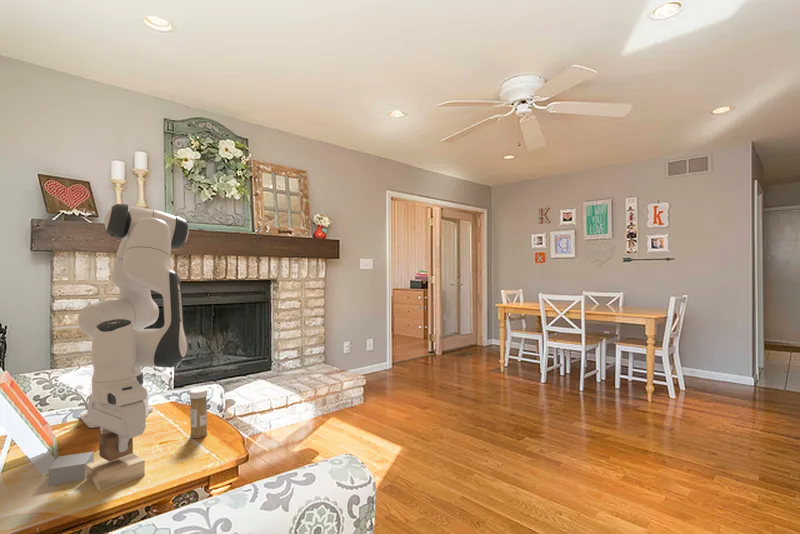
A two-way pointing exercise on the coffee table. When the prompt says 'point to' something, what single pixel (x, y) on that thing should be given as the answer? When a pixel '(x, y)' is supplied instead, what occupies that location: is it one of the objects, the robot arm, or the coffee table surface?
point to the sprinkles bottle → (198, 413)
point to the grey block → (69, 468)
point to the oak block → (114, 471)
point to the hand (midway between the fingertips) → (115, 447)
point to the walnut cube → (112, 446)
